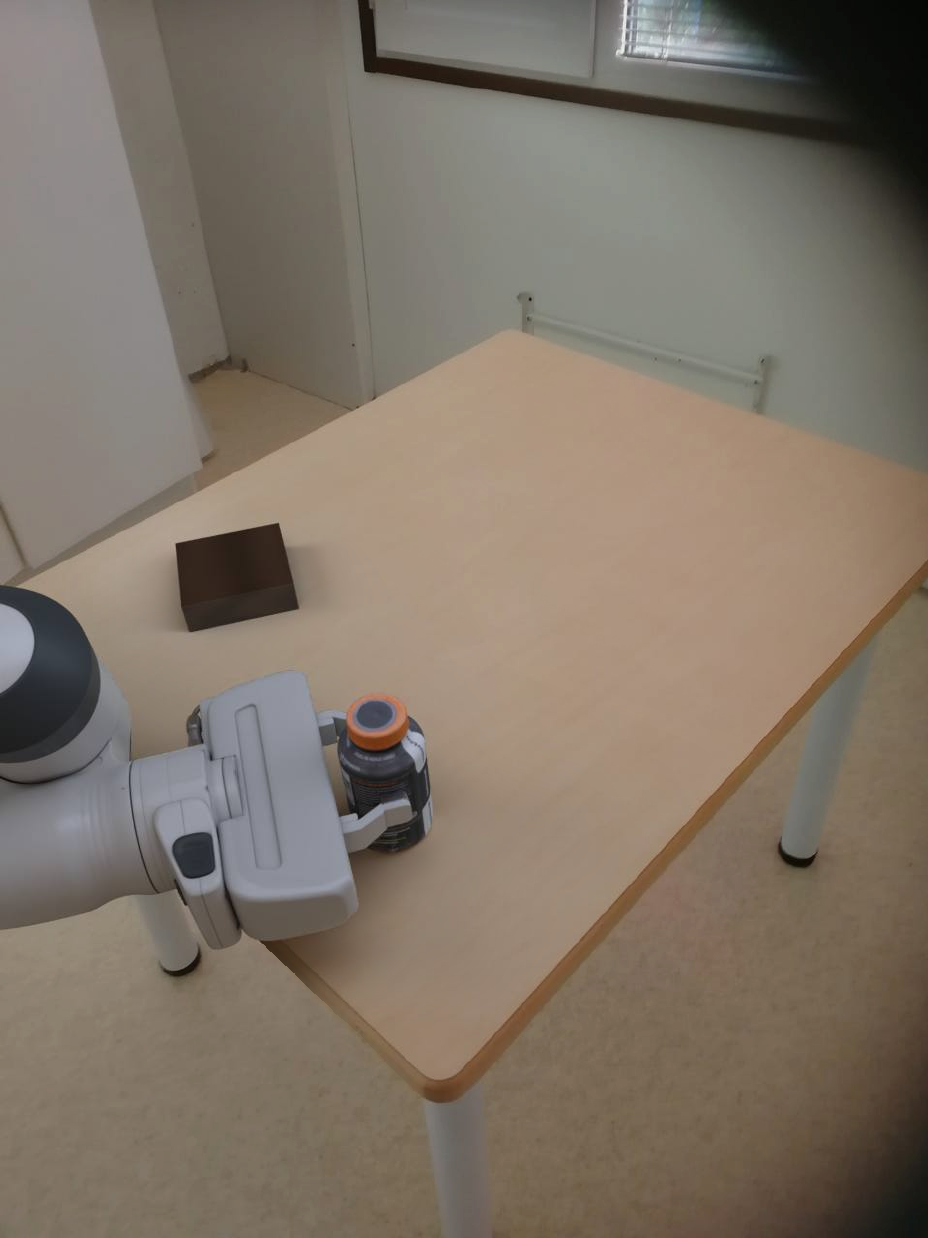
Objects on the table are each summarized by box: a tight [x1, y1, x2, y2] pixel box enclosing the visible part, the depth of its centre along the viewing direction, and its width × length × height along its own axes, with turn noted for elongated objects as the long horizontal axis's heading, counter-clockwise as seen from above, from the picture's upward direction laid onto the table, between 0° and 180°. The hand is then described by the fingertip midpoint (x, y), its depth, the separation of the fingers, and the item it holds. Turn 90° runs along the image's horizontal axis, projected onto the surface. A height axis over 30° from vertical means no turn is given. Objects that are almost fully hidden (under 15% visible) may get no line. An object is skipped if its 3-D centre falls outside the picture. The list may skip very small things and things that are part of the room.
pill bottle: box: [336, 692, 434, 853], centre depth 66 cm, size 6×6×11 cm
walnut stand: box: [174, 522, 300, 633], centre depth 90 cm, size 10×10×3 cm
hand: (397, 763), depth 66 cm, fingers closed on pill bottle, 6 cm apart
